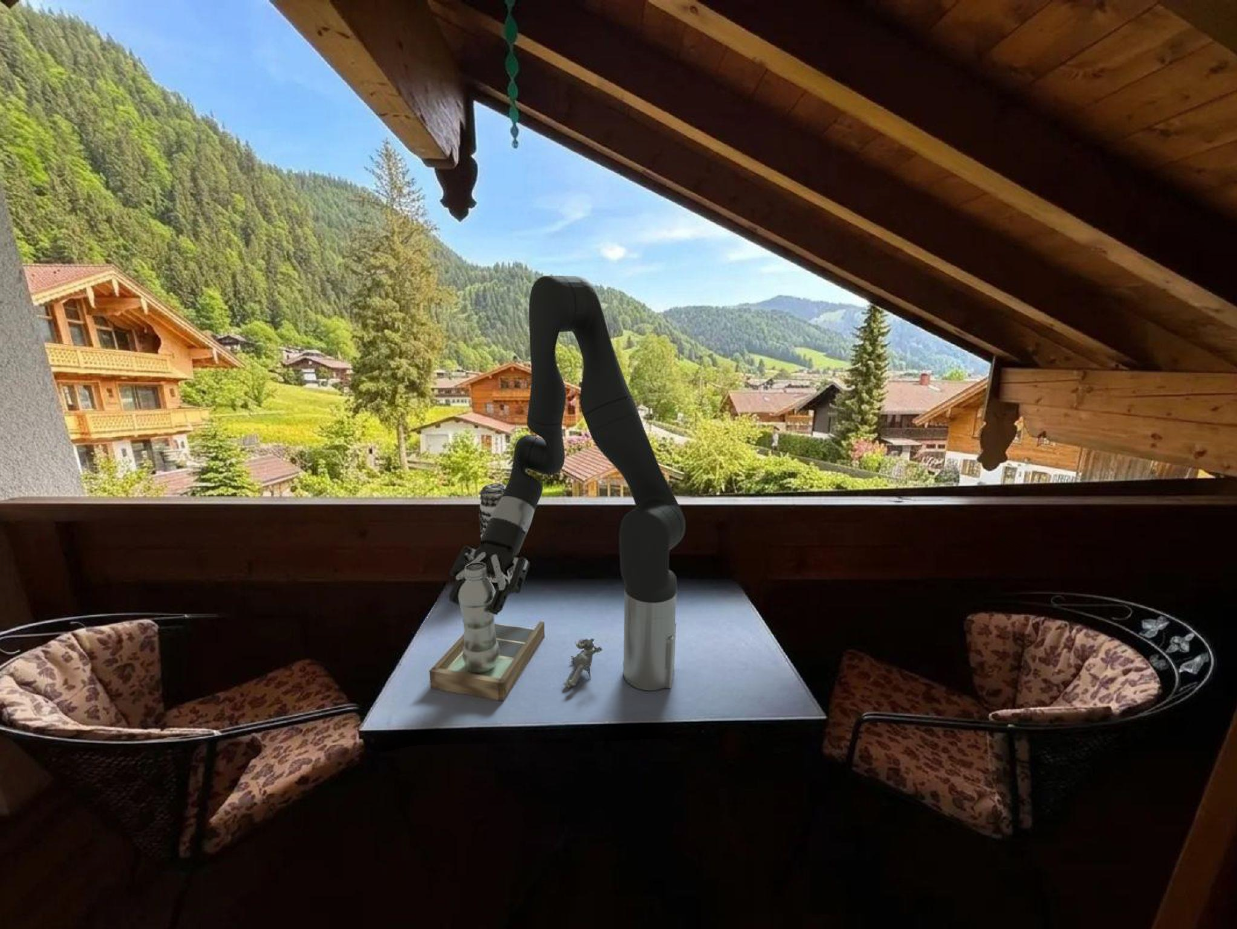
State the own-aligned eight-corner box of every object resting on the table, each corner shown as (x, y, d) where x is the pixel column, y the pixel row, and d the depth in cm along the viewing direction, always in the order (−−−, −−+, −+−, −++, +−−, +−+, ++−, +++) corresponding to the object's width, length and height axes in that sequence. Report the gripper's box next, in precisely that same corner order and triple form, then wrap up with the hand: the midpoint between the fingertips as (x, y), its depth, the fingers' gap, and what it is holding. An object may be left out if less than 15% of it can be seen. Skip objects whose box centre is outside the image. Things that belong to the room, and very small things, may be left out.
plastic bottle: (479, 683, 80) (472, 578, 76) (455, 668, 84) (447, 567, 80) (507, 663, 86) (503, 564, 81) (484, 650, 89) (478, 555, 85)
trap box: (544, 636, 97) (544, 621, 96) (503, 701, 78) (502, 683, 78) (483, 628, 99) (482, 613, 99) (430, 687, 81) (429, 670, 81)
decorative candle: (512, 583, 119) (508, 491, 113) (477, 583, 119) (471, 490, 113) (520, 567, 128) (517, 481, 122) (487, 567, 128) (482, 480, 122)
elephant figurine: (543, 679, 84) (567, 639, 91) (567, 700, 85) (589, 659, 92) (571, 669, 78) (595, 626, 84) (597, 691, 78) (618, 648, 85)
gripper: (468, 511, 88) (428, 593, 80) (532, 522, 83) (496, 610, 75) (488, 528, 94) (452, 605, 86) (548, 539, 89) (516, 622, 81)
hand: (472, 608), depth 81 cm, fingers open, 8 cm apart
